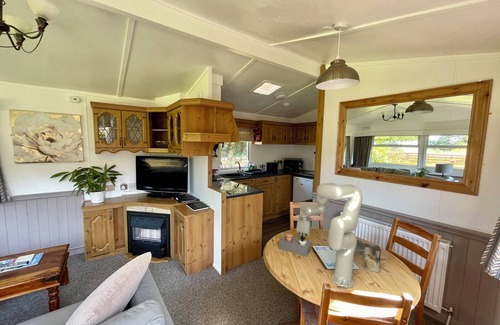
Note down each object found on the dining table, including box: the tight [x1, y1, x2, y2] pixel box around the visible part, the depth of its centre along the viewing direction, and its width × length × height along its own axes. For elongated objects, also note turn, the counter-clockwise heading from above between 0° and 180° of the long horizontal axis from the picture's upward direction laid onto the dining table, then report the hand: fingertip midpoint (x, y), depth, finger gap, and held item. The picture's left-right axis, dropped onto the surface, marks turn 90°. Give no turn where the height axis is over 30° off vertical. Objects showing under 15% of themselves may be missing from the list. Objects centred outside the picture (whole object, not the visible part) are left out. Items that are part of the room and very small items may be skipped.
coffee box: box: [362, 242, 382, 273], centre depth 142 cm, size 9×6×16 cm
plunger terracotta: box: [285, 232, 294, 242], centre depth 168 cm, size 6×6×6 cm
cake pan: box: [354, 239, 364, 256], centre depth 170 cm, size 25×25×4 cm
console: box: [278, 234, 313, 258], centre depth 165 cm, size 14×22×6 cm, turn 60°
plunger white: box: [299, 239, 307, 246], centre depth 162 cm, size 6×6×6 cm
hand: (302, 240), depth 162 cm, fingers closed
